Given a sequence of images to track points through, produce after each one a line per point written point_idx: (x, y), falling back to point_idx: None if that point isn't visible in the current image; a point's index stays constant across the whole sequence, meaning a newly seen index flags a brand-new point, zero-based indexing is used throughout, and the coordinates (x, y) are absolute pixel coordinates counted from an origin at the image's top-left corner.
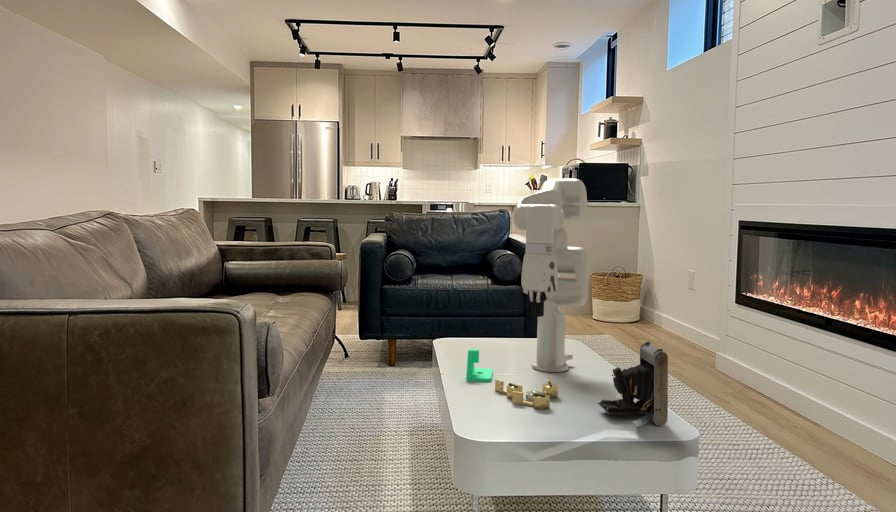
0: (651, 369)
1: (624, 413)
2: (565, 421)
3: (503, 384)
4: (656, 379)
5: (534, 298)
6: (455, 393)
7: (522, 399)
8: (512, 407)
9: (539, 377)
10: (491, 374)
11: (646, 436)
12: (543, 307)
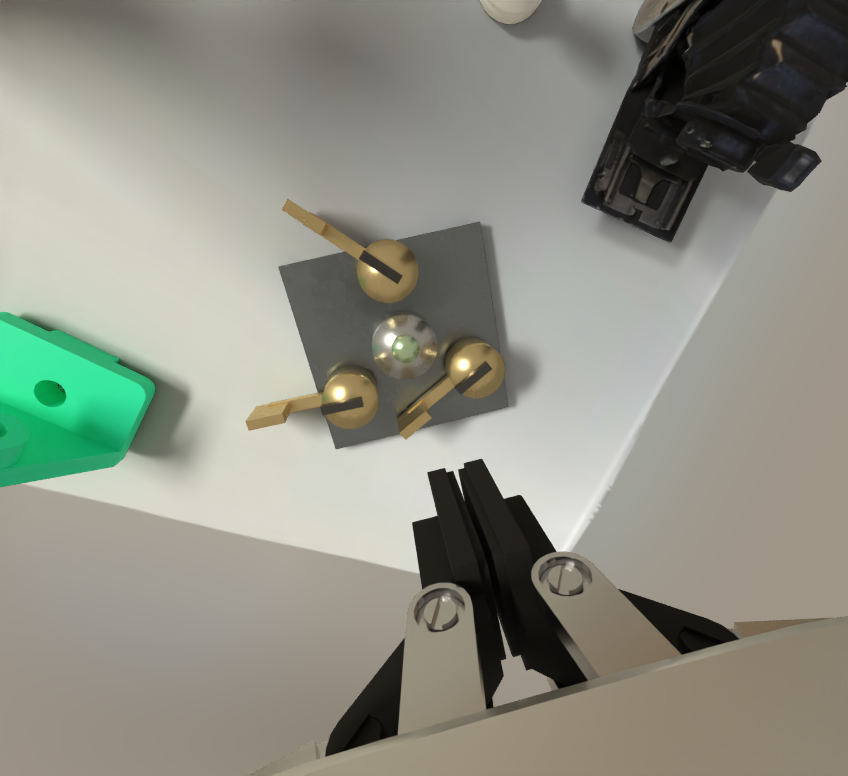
0: None
1: (696, 188)
2: (555, 334)
3: (284, 409)
4: None
5: (491, 697)
6: (215, 513)
7: (427, 408)
8: None
9: (63, 102)
10: (83, 359)
11: (746, 190)
12: (540, 529)
